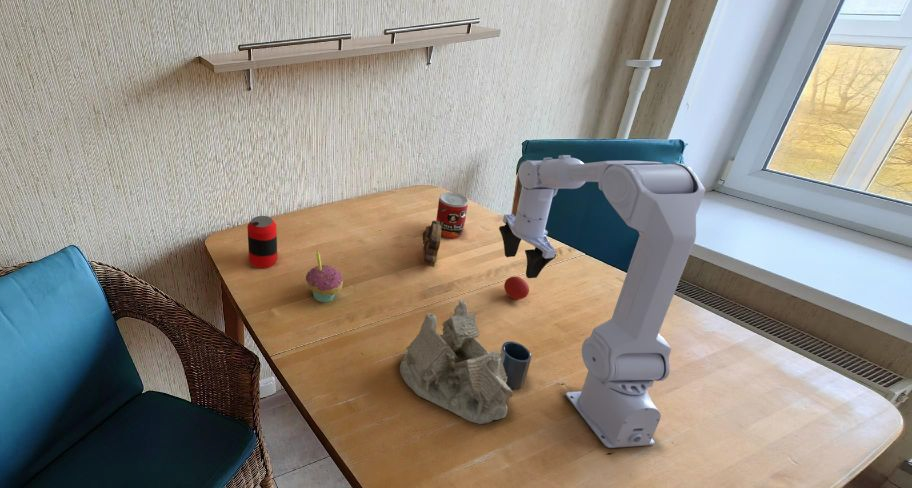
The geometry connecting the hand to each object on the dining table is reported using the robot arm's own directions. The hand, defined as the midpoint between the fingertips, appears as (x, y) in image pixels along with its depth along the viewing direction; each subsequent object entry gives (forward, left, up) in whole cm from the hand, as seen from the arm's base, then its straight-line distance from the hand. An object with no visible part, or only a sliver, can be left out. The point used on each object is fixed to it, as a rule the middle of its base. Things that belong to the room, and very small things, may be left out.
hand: (520, 266), depth 96 cm
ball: (0, 0, -6) cm, 6 cm away
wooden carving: (+16, +13, -9) cm, 23 cm away
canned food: (+28, +2, -9) cm, 30 cm away
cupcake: (+4, +43, -9) cm, 45 cm away
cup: (-21, +13, -9) cm, 26 cm away
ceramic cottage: (-21, +25, -9) cm, 34 cm away
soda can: (+19, +58, -9) cm, 61 cm away
